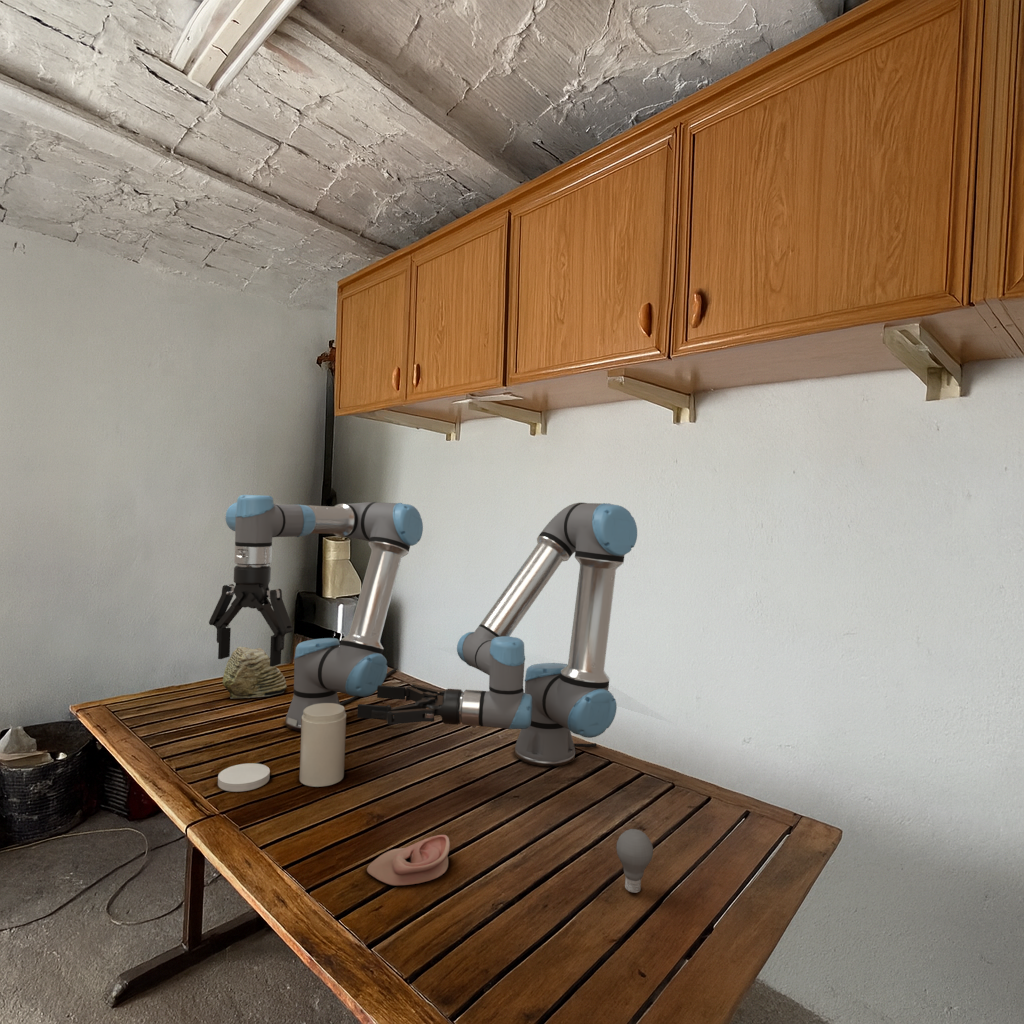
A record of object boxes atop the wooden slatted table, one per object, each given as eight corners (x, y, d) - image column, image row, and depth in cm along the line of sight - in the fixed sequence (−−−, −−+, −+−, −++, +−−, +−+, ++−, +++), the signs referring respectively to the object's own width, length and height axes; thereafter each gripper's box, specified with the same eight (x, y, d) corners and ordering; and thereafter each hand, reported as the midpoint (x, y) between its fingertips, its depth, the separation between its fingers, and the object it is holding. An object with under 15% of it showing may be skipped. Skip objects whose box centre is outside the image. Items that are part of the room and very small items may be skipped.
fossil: (218, 695, 195) (220, 647, 195) (278, 685, 208) (279, 640, 207) (228, 703, 189) (230, 653, 188) (289, 692, 201) (290, 645, 201)
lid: (230, 796, 132) (230, 788, 132) (209, 779, 139) (210, 772, 139) (278, 781, 140) (278, 774, 140) (256, 766, 147) (256, 759, 147)
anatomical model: (359, 856, 105) (387, 822, 116) (358, 879, 105) (386, 843, 116) (435, 869, 102) (456, 833, 114) (434, 893, 103) (455, 855, 114)
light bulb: (610, 879, 108) (613, 822, 108) (644, 879, 109) (647, 822, 109) (619, 902, 102) (622, 840, 102) (655, 901, 103) (658, 840, 103)
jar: (308, 766, 148) (310, 701, 148) (349, 769, 148) (351, 703, 147) (292, 785, 138) (295, 715, 138) (336, 788, 138) (339, 717, 138)
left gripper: (193, 562, 139) (190, 658, 139) (290, 571, 132) (286, 672, 132) (218, 559, 146) (215, 651, 147) (311, 567, 139) (308, 664, 139)
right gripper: (450, 746, 127) (348, 738, 129) (470, 705, 152) (384, 699, 154) (451, 708, 127) (349, 701, 129) (471, 674, 152) (385, 669, 154)
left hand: (249, 661), depth 139 cm, fingers open, 13 cm apart
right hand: (368, 700), depth 142 cm, fingers open, 13 cm apart
